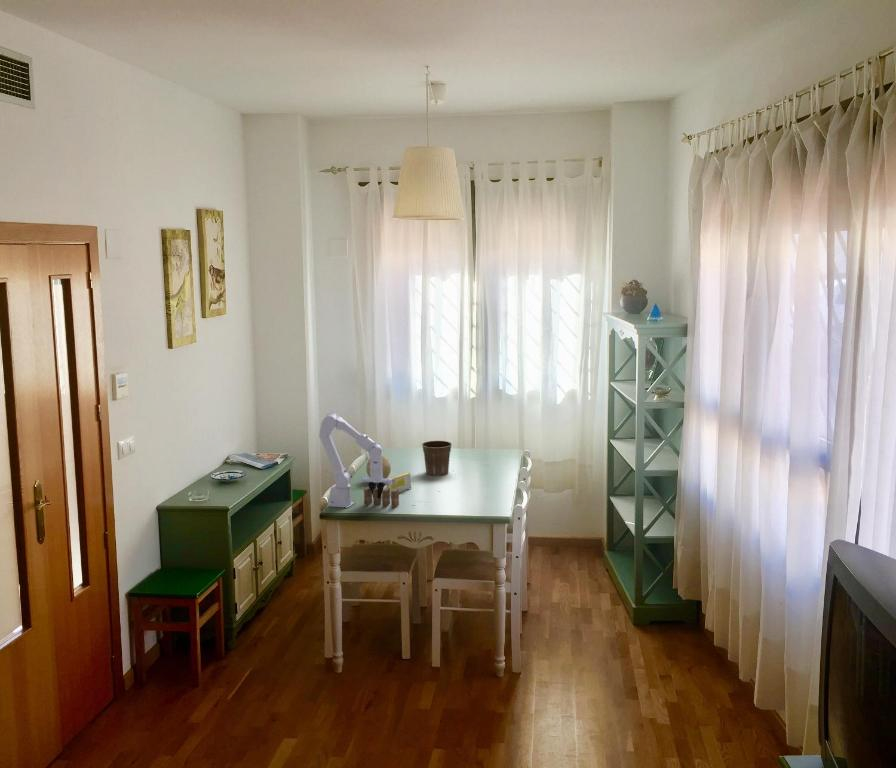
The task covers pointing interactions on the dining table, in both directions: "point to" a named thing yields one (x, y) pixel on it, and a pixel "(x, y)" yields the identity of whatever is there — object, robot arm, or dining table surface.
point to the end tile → (367, 496)
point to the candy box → (400, 482)
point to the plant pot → (437, 457)
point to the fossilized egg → (385, 467)
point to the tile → (376, 498)
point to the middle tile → (385, 497)
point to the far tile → (394, 498)
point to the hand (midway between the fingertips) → (377, 497)
